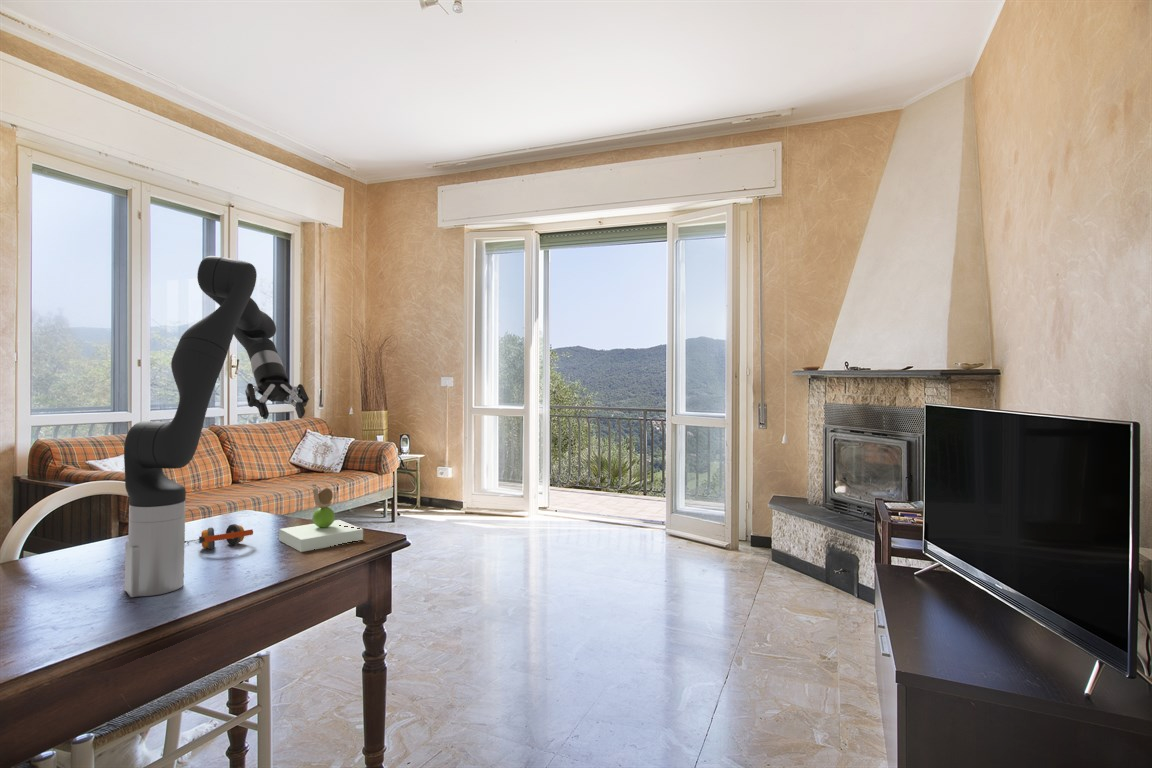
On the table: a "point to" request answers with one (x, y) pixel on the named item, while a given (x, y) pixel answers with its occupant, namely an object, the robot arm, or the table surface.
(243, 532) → the headphones
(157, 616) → the table surface
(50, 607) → the table surface
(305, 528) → the sage board
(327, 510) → the snail figurine
